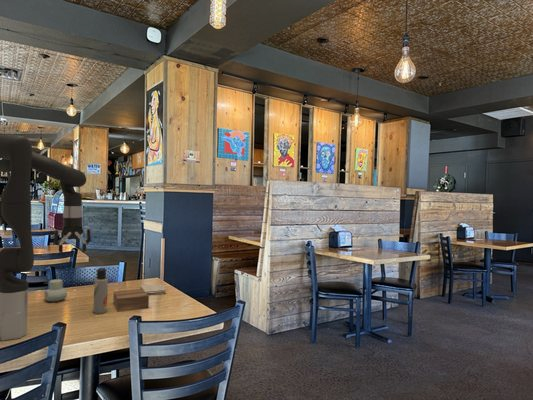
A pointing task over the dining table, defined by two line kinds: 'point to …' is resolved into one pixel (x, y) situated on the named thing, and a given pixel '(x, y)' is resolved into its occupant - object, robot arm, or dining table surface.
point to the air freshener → (55, 291)
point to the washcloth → (153, 289)
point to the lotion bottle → (100, 292)
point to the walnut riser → (130, 300)
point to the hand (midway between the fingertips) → (72, 252)
